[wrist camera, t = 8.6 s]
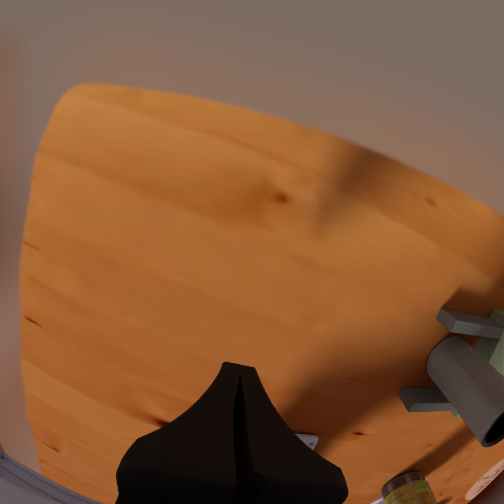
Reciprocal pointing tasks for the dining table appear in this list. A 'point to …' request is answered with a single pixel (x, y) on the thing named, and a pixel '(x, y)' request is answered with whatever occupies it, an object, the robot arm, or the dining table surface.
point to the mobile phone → (378, 501)
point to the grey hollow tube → (470, 387)
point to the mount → (489, 347)
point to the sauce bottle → (408, 490)
